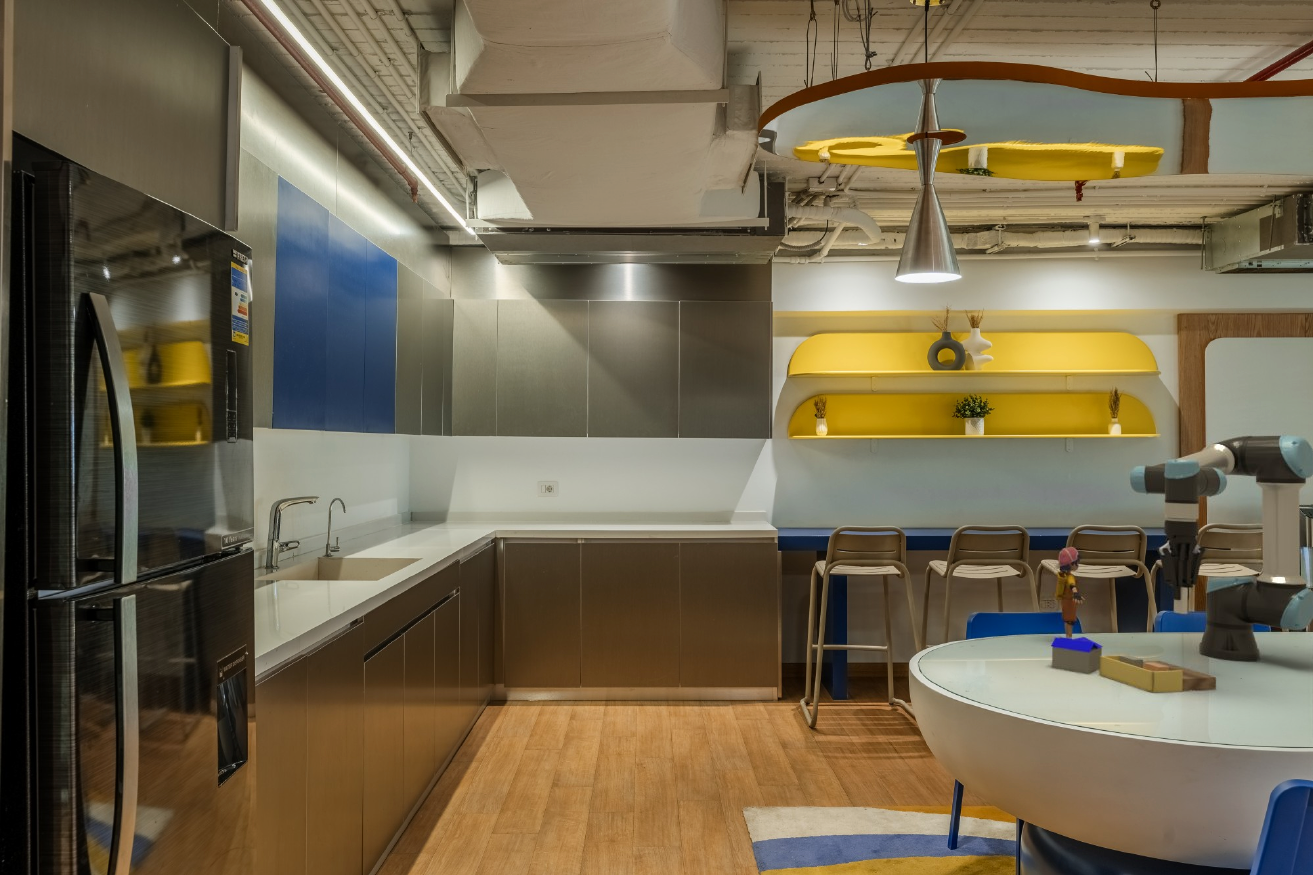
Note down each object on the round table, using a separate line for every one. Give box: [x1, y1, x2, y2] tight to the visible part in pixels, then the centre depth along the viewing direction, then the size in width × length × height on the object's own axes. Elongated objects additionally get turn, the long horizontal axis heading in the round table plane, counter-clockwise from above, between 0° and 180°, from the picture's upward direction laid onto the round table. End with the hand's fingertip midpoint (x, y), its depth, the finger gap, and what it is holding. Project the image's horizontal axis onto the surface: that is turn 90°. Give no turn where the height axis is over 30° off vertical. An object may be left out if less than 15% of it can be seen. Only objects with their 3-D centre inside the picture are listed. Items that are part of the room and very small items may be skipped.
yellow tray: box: [1098, 654, 1183, 694], centre depth 230 cm, size 9×18×5 cm, turn 14°
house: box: [1050, 636, 1104, 675], centre depth 245 cm, size 10×11×8 cm
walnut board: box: [1143, 660, 1217, 692], centre depth 232 cm, size 10×18×3 cm, turn 14°
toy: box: [1053, 546, 1086, 639], centre depth 277 cm, size 24×7×30 cm, turn 168°
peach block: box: [1143, 661, 1169, 672], centre depth 226 cm, size 5×5×3 cm
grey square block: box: [1119, 654, 1144, 668], centre depth 234 cm, size 5×5×3 cm
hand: (1180, 612), depth 229 cm, fingers closed
